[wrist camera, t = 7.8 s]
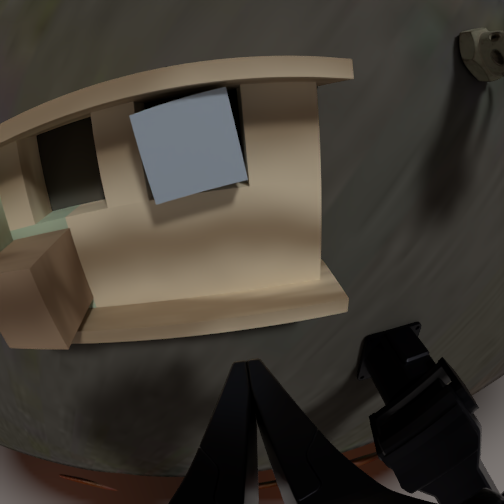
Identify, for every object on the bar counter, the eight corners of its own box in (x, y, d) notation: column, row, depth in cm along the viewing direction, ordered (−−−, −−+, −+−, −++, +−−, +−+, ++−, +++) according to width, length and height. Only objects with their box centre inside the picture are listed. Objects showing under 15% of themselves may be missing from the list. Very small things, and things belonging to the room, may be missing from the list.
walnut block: (93, 297, 17) (68, 349, 13) (39, 302, 17) (10, 347, 13) (69, 227, 15) (29, 268, 11) (14, 240, 15) (-27, 277, 10)
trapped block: (239, 164, 18) (248, 179, 14) (169, 183, 17) (156, 204, 13) (222, 94, 15) (225, 86, 11) (149, 115, 15) (129, 115, 11)
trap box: (321, 271, 22) (347, 311, 17) (51, 304, 20) (26, 343, 16) (316, 71, 15) (352, 59, 11) (0, 137, 14) (-44, 150, 9)
